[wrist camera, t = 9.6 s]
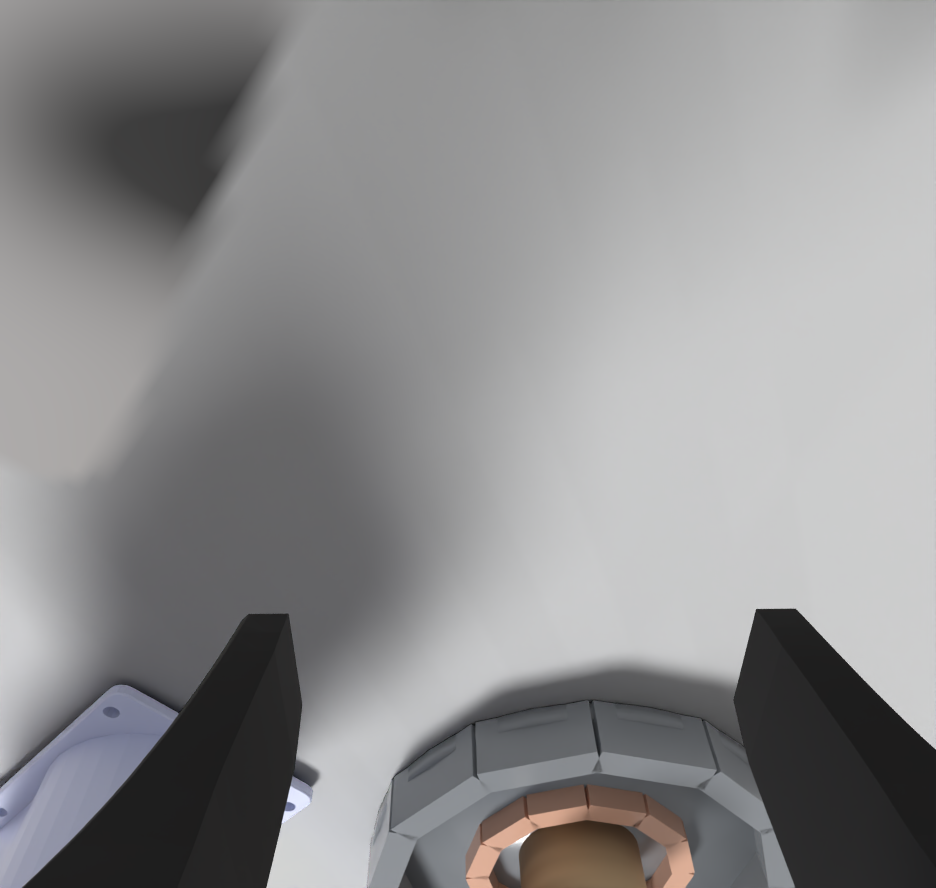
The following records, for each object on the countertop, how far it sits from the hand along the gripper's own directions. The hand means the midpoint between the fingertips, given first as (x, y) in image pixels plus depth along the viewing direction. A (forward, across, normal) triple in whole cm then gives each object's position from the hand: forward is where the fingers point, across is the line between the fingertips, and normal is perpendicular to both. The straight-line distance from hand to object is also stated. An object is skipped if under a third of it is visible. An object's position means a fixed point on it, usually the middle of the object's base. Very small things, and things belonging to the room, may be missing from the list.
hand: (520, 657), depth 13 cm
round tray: (+9, -3, +20) cm, 22 cm away
